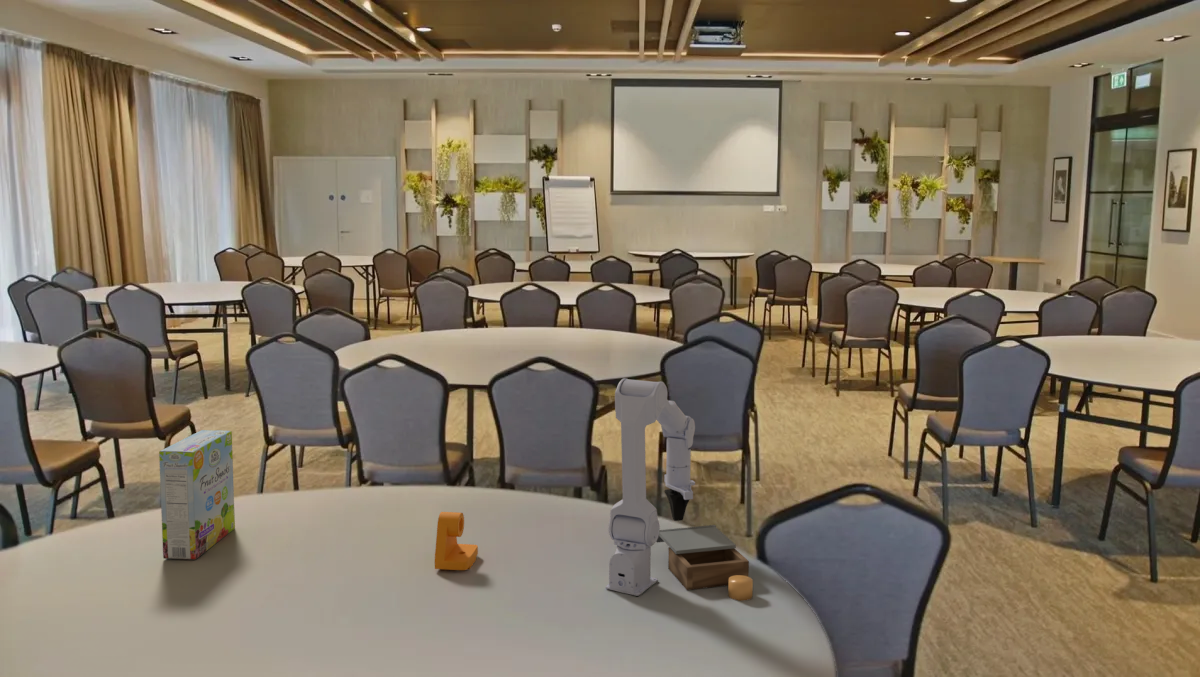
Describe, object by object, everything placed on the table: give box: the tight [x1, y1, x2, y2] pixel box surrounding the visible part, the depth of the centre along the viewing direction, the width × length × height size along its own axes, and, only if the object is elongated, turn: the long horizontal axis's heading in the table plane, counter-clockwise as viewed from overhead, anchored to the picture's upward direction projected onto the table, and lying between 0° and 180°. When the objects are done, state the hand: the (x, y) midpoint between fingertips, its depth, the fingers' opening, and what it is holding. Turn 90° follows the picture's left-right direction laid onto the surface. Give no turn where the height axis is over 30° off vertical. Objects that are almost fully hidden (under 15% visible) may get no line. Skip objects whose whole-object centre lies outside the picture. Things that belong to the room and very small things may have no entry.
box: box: [667, 546, 750, 591], centre depth 200 cm, size 12×14×5 cm
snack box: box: [158, 429, 236, 561], centre depth 218 cm, size 22×9×26 cm, turn 179°
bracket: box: [434, 511, 479, 571], centre depth 207 cm, size 11×7×12 cm, turn 173°
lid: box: [656, 524, 737, 554], centre depth 207 cm, size 13×15×3 cm
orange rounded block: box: [727, 575, 754, 602], centre depth 190 cm, size 5×5×4 cm
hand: (677, 519), depth 219 cm, fingers closed
